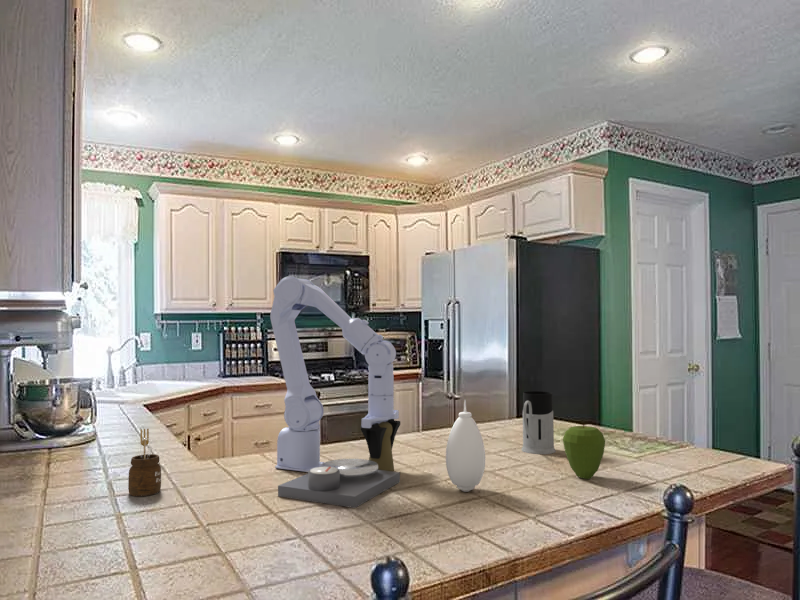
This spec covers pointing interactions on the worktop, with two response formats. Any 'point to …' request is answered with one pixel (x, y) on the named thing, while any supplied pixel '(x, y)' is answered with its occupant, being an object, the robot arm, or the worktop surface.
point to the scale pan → (353, 467)
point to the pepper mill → (385, 450)
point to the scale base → (337, 486)
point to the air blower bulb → (465, 453)
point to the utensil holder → (144, 472)
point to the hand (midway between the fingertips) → (380, 455)
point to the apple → (584, 450)
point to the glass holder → (538, 423)
